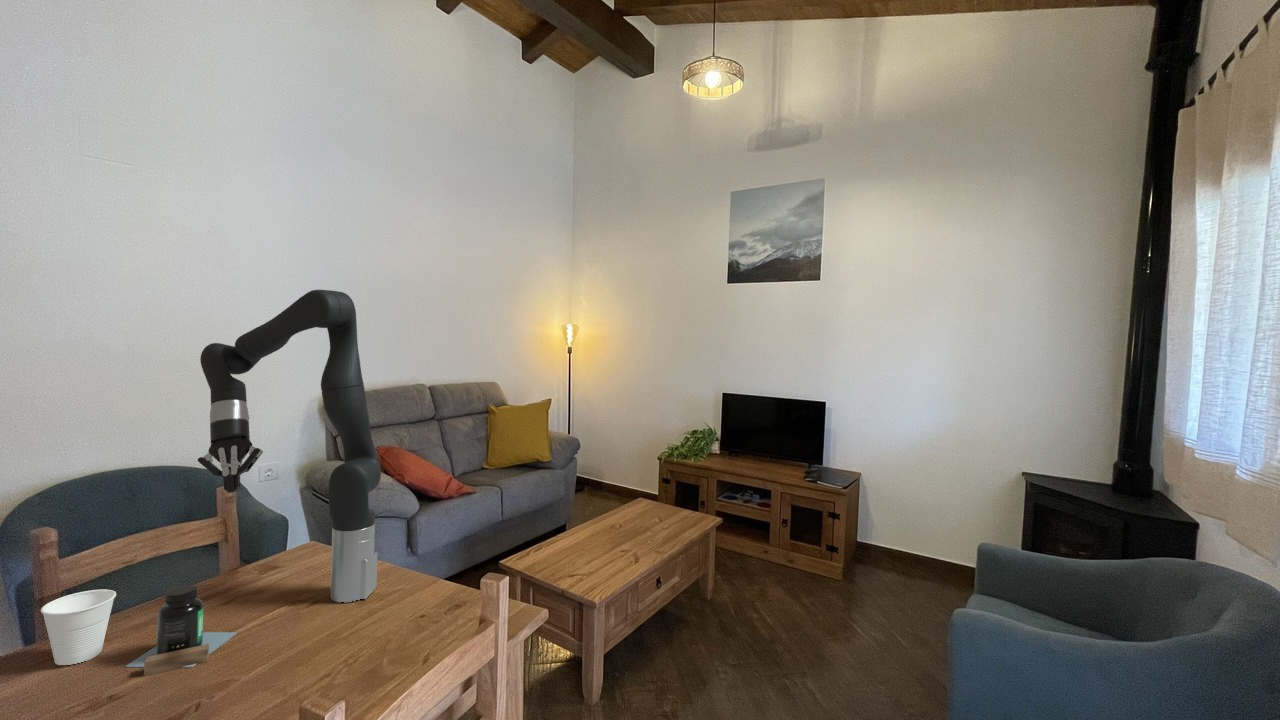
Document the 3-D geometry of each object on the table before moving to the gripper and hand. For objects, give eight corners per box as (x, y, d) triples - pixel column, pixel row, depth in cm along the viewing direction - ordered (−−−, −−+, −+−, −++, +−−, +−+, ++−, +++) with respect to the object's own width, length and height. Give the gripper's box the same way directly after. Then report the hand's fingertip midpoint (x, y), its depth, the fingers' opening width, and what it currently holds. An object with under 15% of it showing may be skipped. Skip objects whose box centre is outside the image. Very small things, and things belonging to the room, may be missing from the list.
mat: (237, 633, 111) (237, 632, 111) (191, 667, 99) (192, 666, 99) (177, 632, 110) (177, 632, 110) (124, 667, 98) (124, 666, 98)
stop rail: (208, 656, 103) (209, 643, 103) (207, 661, 101) (207, 648, 101) (146, 670, 98) (146, 657, 98) (143, 676, 96) (144, 662, 96)
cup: (65, 677, 95) (66, 617, 95) (24, 668, 97) (25, 609, 97) (128, 647, 105) (130, 592, 104) (90, 640, 107) (91, 586, 106)
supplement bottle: (211, 644, 107) (212, 585, 106) (173, 663, 100) (175, 600, 100) (185, 638, 108) (187, 580, 108) (147, 656, 102) (148, 595, 101)
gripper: (189, 423, 124) (190, 497, 119) (256, 413, 128) (260, 484, 124) (203, 429, 130) (205, 500, 126) (266, 420, 135) (270, 487, 131)
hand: (232, 492), depth 125 cm, fingers closed
